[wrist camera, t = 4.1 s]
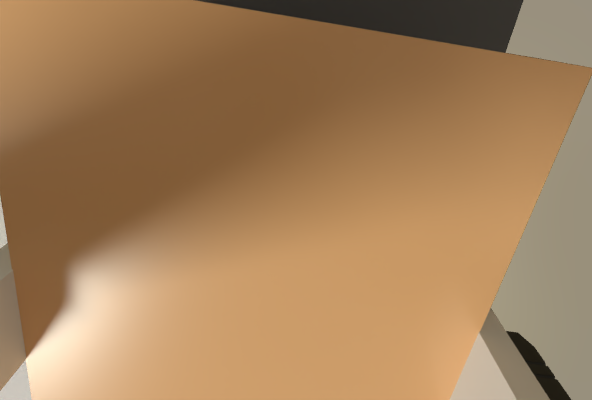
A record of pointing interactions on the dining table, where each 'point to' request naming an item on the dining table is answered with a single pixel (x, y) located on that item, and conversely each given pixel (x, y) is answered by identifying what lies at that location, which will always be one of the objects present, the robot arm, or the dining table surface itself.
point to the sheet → (260, 199)
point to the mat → (407, 17)
